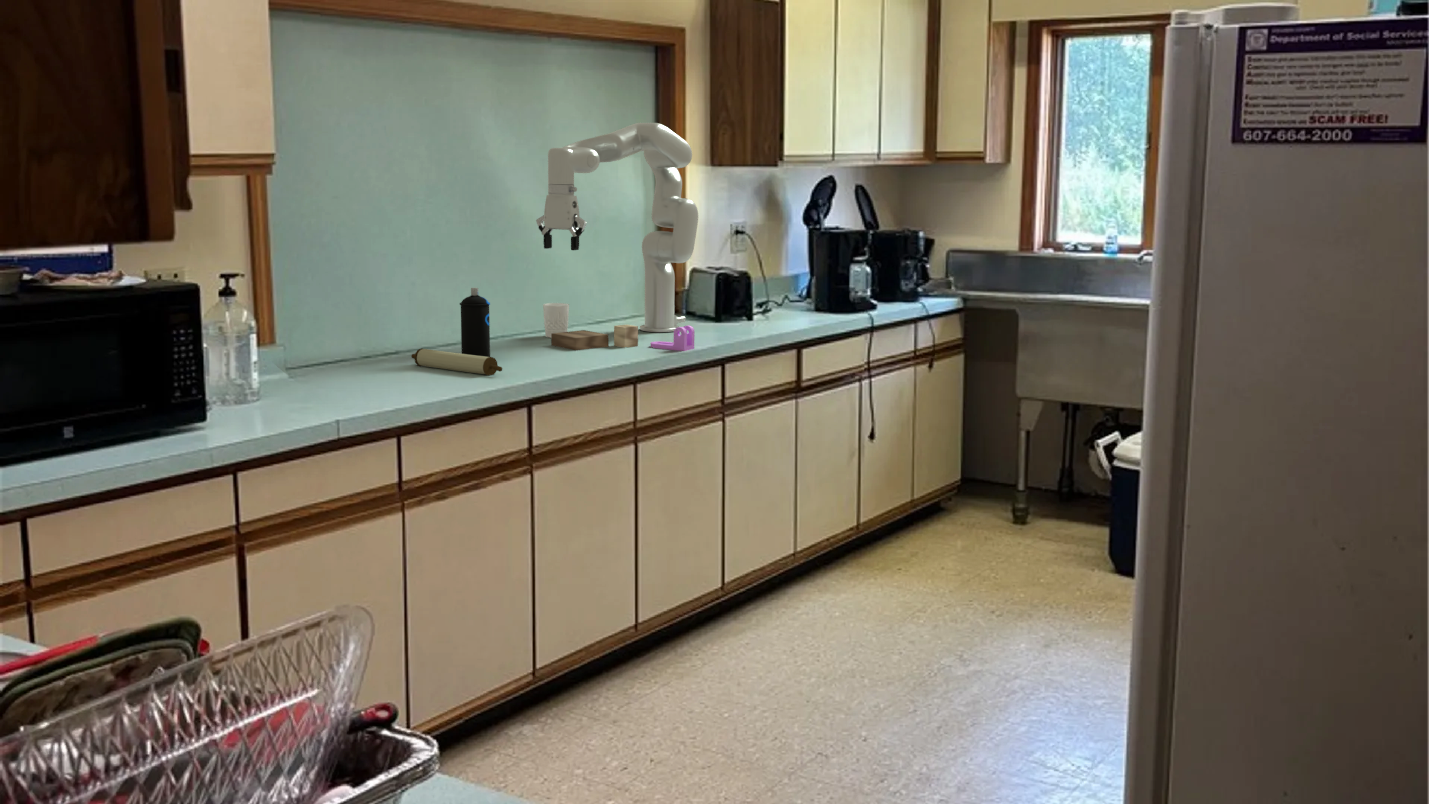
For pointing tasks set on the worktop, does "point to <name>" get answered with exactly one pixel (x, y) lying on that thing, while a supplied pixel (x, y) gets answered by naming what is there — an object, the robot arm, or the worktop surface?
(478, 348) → the aerosol can
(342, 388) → the worktop surface
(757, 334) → the worktop surface
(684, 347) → the bracket
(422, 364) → the rolling pin
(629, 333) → the maple block
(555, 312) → the white cup
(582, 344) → the base block
